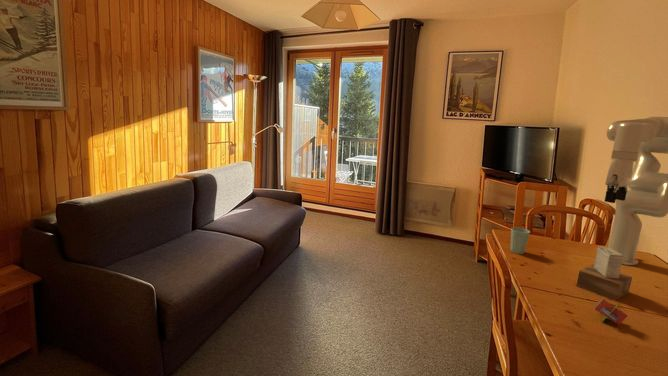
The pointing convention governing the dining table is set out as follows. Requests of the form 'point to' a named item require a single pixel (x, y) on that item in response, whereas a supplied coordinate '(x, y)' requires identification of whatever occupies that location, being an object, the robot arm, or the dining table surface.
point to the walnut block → (603, 283)
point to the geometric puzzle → (610, 312)
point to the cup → (519, 239)
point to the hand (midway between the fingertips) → (614, 201)
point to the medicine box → (608, 262)
